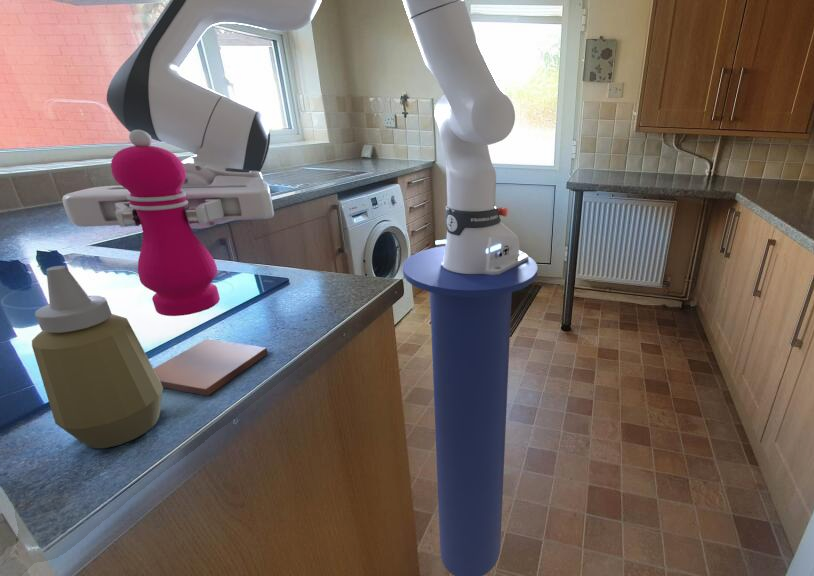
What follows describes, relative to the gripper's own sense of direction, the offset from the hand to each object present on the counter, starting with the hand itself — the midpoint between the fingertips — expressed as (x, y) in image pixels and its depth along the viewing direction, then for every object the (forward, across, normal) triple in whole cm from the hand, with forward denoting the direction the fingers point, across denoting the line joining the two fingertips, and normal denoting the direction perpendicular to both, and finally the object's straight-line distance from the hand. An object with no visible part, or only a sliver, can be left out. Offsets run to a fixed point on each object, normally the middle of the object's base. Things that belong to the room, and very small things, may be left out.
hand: (161, 218), depth 45 cm
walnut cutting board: (-1, 0, +20) cm, 20 cm away
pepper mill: (-1, 0, +11) cm, 11 cm away
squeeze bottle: (+9, -5, +20) cm, 23 cm away
